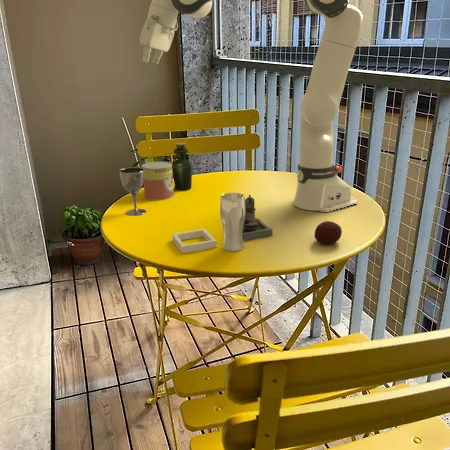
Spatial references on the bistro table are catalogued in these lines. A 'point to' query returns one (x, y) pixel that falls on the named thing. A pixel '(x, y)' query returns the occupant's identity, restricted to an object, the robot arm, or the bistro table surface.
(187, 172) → the potion bottle
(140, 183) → the wine glass
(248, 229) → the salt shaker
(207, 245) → the pale socket
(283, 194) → the bistro table surface
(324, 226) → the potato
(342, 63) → the robot arm
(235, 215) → the beer glass
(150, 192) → the canned food
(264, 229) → the dark socket
